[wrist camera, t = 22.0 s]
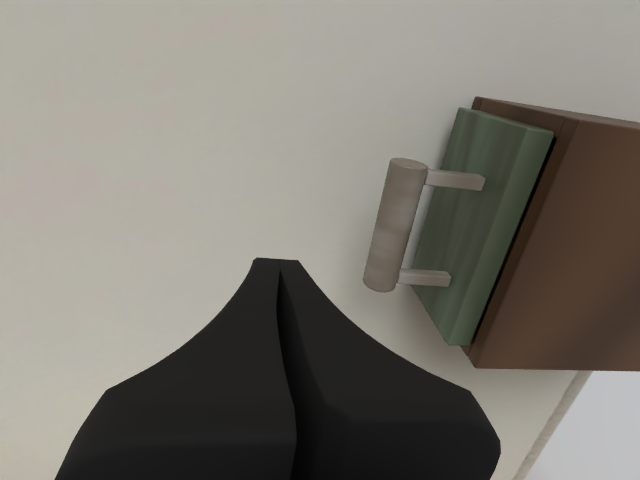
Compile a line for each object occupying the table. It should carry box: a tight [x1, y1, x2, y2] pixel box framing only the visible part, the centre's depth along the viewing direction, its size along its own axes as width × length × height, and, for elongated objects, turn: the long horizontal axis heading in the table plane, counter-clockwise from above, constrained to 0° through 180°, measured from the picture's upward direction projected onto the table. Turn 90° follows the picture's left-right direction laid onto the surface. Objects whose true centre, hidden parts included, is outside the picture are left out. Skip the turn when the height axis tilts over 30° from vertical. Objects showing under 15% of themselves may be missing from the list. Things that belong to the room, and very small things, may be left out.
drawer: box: [363, 108, 557, 346], centre depth 20 cm, size 17×10×6 cm, turn 81°
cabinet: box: [460, 97, 640, 371], centre depth 20 cm, size 14×12×8 cm
